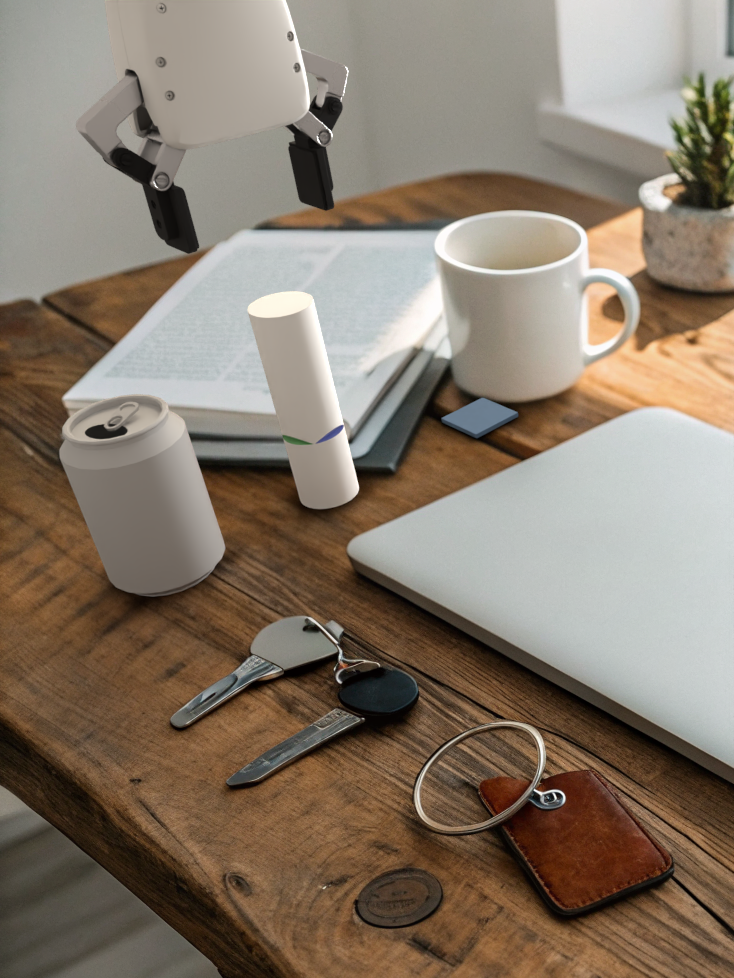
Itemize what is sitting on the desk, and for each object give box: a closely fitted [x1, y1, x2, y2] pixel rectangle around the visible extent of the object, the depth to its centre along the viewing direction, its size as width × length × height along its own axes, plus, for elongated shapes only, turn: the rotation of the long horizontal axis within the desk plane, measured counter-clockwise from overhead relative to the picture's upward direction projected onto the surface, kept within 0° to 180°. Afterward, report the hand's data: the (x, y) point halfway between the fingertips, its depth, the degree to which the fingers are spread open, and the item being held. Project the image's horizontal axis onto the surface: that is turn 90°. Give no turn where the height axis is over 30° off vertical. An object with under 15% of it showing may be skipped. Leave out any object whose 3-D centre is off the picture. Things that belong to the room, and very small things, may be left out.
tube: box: [246, 290, 360, 510], centre depth 82 cm, size 4×4×15 cm
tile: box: [440, 397, 519, 439], centre depth 94 cm, size 4×4×1 cm
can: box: [59, 393, 226, 598], centre depth 76 cm, size 8×8×12 cm
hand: (252, 226), depth 75 cm, fingers open, 9 cm apart
